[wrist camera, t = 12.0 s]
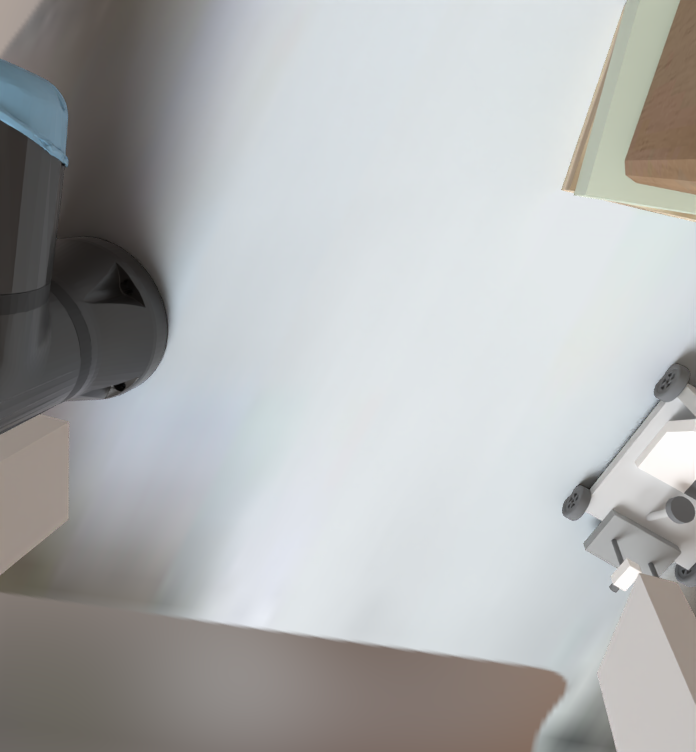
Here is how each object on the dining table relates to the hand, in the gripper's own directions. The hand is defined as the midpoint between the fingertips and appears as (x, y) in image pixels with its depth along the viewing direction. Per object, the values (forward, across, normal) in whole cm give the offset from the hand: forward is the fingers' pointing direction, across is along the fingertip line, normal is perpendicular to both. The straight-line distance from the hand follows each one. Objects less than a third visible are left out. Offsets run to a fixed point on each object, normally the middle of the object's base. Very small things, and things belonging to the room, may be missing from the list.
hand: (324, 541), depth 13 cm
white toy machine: (+36, +22, -12) cm, 44 cm away
